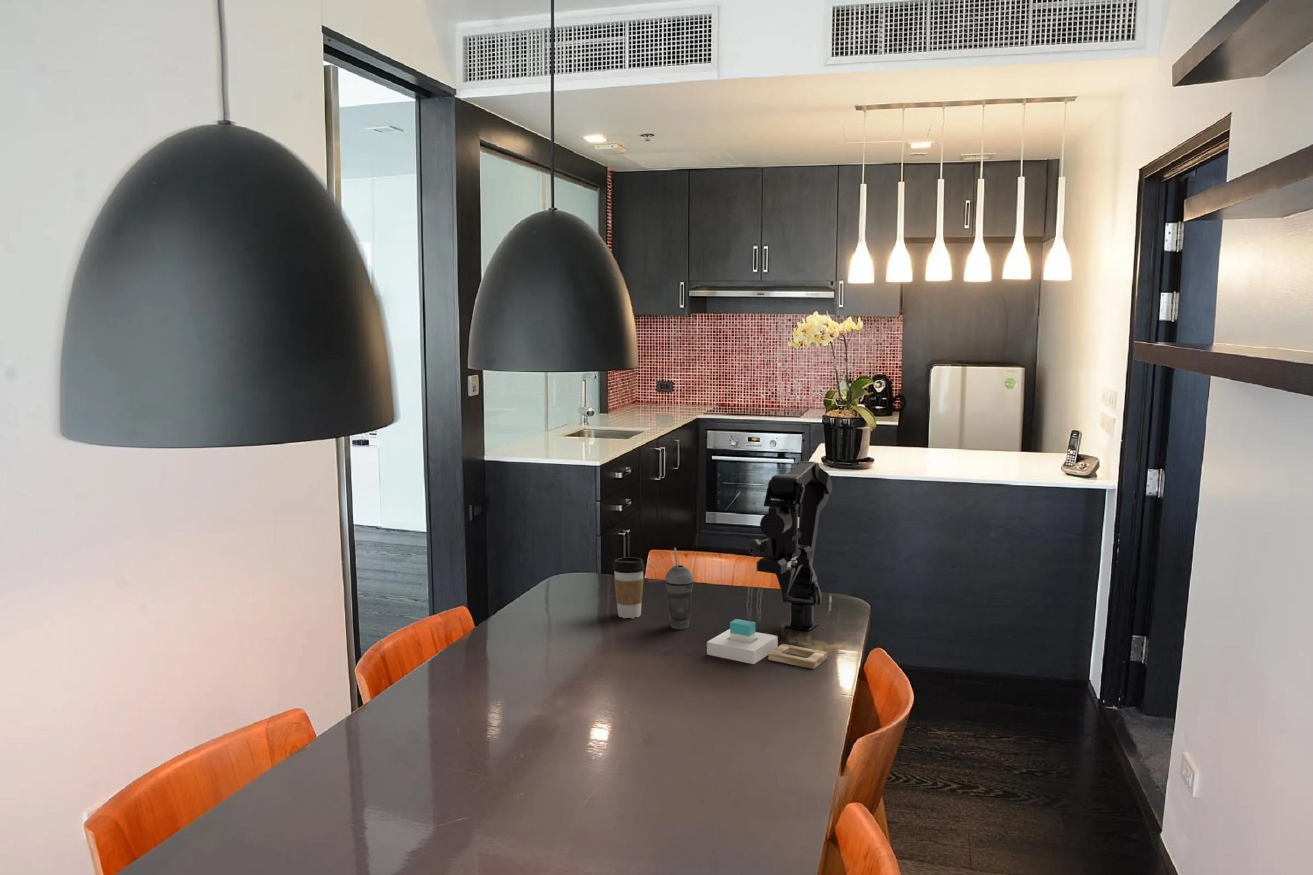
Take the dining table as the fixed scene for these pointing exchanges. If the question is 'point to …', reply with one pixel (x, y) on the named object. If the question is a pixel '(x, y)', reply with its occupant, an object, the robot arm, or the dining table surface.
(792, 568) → the robot arm
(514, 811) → the dining table surface
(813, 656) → the holster
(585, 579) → the dining table surface
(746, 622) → the plug
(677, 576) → the beverage cup
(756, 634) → the port block
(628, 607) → the coffee cup
